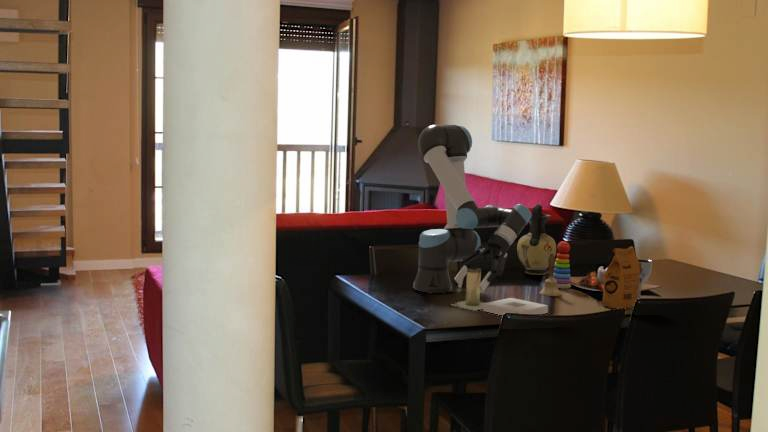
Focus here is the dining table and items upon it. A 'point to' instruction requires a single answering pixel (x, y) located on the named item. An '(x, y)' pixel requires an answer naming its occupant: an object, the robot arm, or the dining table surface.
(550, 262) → the hand bell
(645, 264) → the wine glass
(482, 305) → the mat
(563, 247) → the stacking toy
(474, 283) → the beige cylinder
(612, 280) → the coffee package
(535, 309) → the housing
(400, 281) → the dining table surface
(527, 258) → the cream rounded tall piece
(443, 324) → the dining table surface
